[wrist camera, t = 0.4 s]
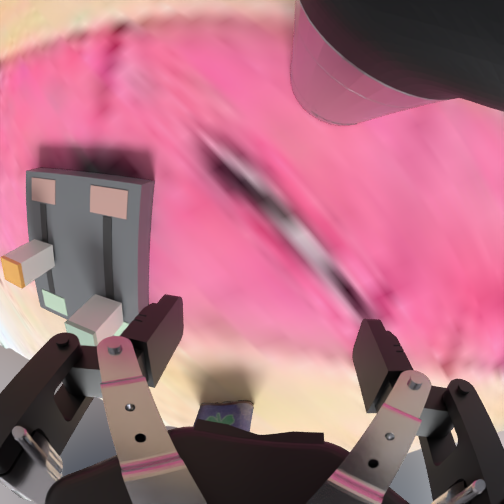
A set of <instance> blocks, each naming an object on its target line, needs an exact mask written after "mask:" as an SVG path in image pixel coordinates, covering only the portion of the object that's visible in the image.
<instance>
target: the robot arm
mask: <svg viewBox="0 0 504 504" xmlns="http://www.w3.org/2000/svg"><path fill="white" fill-rule="evenodd" d="M290 75H291V86H292V90H293V93H294V95H295V97H296V99H297V101H298V102H299V103H300V105H301V106H302V107H303V108H304V109H305V110H306V111H307V112H308V113H309V114H310V115H312V116H313V117H315V118H317V119H318V120H320V121H323V122H326V123H328V124H332V125H338V126H346V125H353V124H357V123H361V122H364V121H368V120H371V119H375V118H378V117H382V116H385V115H389V114H392V113H396V112H400V111H404V110H407V109H411V108H415V107H419V106H423V105H427V104H431V103H436V102H440V101H445V100H449V99H455V98H462V99H466V100H469V101H472V102H475V103H478V104H481V105H484V106H487V107H490V108H493V109H497V110H500V111H504V0H296V1H295V22H294V36H293V49H292V61H291V74H290ZM183 328H184V325H183V301H182V298H181V297H178V296H172V295H166V294H165V295H164V296H163V297H162V298H161V299H160V301H159V302H158V303H157V304H156V303H152V304H150V305H148V306H146V307H144V308H143V309H142V310H141V311H140V313H139V314H138V315H137V316H136V317H135V318H134V320H133V321H132V322H131V323H130V324H129V325H128V326H127V328H126V329H125V330H124V331H123V332H122V333H121V335H120V336H111V337H107V338H105V339H103V340H102V341H100V342H99V344H98V345H97V346H86V345H80V342H79V339H78V337H77V336H76V335H75V334H72V333H60V334H57V335H55V336H53V337H52V338H51V339H50V340H49V341H48V342H47V343H46V344H45V345H44V346H43V347H42V348H41V349H40V350H39V351H38V352H37V353H36V354H35V355H34V356H33V357H32V359H31V360H30V361H29V362H28V363H27V364H26V365H25V366H24V367H23V368H22V369H21V371H20V372H19V373H18V374H17V375H16V376H15V377H14V378H13V379H12V381H11V382H10V383H9V384H8V385H7V386H6V388H5V389H4V390H3V391H2V392H1V393H0V482H1V483H2V484H3V485H4V486H5V487H7V488H8V489H10V490H11V491H13V492H14V493H15V494H17V495H18V496H19V497H20V498H22V499H25V500H31V501H32V502H34V503H35V504H409V503H408V502H407V501H406V500H404V499H403V498H402V497H401V496H399V495H398V494H397V493H396V492H395V491H393V490H392V489H391V488H390V487H389V486H390V484H391V482H392V480H393V479H394V477H395V475H396V474H397V472H398V470H399V468H400V466H401V464H402V462H403V461H404V458H405V457H406V455H407V453H408V451H409V448H410V446H411V444H412V442H413V440H414V438H415V436H418V437H419V440H420V444H421V448H422V452H423V456H424V459H425V464H426V469H427V473H428V478H429V482H430V488H431V492H432V498H433V502H432V503H431V504H504V448H503V446H502V444H501V441H500V439H499V437H498V434H497V432H496V430H495V428H494V426H493V424H492V421H491V419H490V417H489V415H488V413H487V411H486V409H485V407H484V405H483V403H482V401H481V399H480V398H479V396H478V394H477V392H476V390H475V388H474V387H473V386H472V385H471V384H470V383H469V382H467V381H465V380H462V379H454V380H452V381H451V382H450V383H449V385H448V387H447V388H442V387H436V386H431V382H430V380H429V378H428V377H427V376H426V375H424V374H423V373H421V372H418V371H415V370H413V368H412V366H411V364H410V362H409V360H408V358H407V356H406V354H405V352H404V350H403V349H402V347H401V346H400V343H399V341H398V339H397V337H396V336H394V335H393V334H392V333H391V332H390V331H386V330H385V328H384V326H383V324H382V322H381V320H377V319H363V321H362V323H361V326H360V329H359V332H358V335H357V339H356V342H355V345H354V348H353V362H354V366H355V370H356V373H357V377H358V381H359V385H360V388H361V392H362V396H363V400H364V404H365V408H366V412H367V413H377V415H376V416H375V418H374V419H373V421H372V422H371V424H370V425H369V427H368V428H367V430H366V431H365V433H364V434H363V435H362V437H361V438H360V440H359V441H358V442H357V444H356V445H355V447H354V448H353V449H352V451H351V452H348V451H347V450H345V449H343V448H342V447H340V446H337V445H335V444H332V443H329V442H325V441H324V433H314V432H286V433H278V434H269V435H257V434H254V433H251V432H248V431H245V430H242V429H239V428H237V427H234V426H231V425H229V424H223V423H218V422H212V421H207V420H202V419H197V420H196V423H195V426H194V427H181V428H175V429H171V430H168V431H167V430H166V427H165V425H164V423H163V421H162V418H161V416H160V414H159V411H158V409H157V407H156V404H155V402H154V399H153V397H152V394H151V392H150V389H149V386H150V387H154V388H155V386H156V384H157V383H158V381H159V379H160V377H161V375H162V373H163V372H164V370H165V368H166V366H167V364H168V362H169V360H170V359H171V357H172V355H173V353H174V351H175V349H176V348H177V346H178V344H179V342H180V340H181V338H182V335H183ZM61 382H63V384H62V386H61V387H60V389H59V390H58V391H57V393H56V394H55V395H54V392H55V390H56V388H57V387H58V386H59V384H60V383H61ZM94 397H96V398H103V402H104V406H105V411H106V415H107V420H108V424H109V427H110V431H111V435H112V439H113V443H114V446H115V449H116V453H117V455H115V456H113V457H111V458H109V459H106V460H104V461H101V462H99V463H97V464H94V465H92V466H90V467H87V468H84V469H82V470H79V471H76V472H74V473H71V474H68V475H66V476H64V477H62V473H61V472H62V469H63V464H62V460H61V458H60V454H61V453H62V451H63V449H64V447H65V446H66V444H67V442H68V440H69V439H70V437H71V435H72V433H73V432H74V430H75V428H76V427H77V425H78V423H79V421H80V420H81V418H82V416H83V415H84V413H85V411H86V410H87V408H88V406H89V405H90V403H91V402H92V400H93V398H94ZM453 428H455V431H456V433H457V436H458V444H457V447H456V445H455V442H454V439H453V436H452V434H451V430H452V429H453Z"/></svg>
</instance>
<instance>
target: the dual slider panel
mask: <svg viewBox="0 0 504 504" xmlns="http://www.w3.org/2000/svg"><path fill="white" fill-rule="evenodd" d="M154 182H155V181H153V180H146V179H139V178H132V177H125V176H117V175H109V174H101V173H93V172H84V171H74V170H64V169H54V168H42V167H41V168H36V169H32V170H27V171H26V205H27V222H28V234H29V242H30V241H31V240H33V239H36V240H39V241H42V242H45V243H48V244H51V245H53V254H54V263H55V266H54V267H53V268H51V269H50V270H48V271H47V272H45V273H44V274H42V275H41V276H40V277H38V278H37V279H35V282H36V288H37V292H38V297H39V302H40V306H41V307H42V308H44V309H46V310H48V311H50V312H52V313H54V314H56V315H59V316H61V317H63V318H65V319H67V320H68V319H69V318H70V317H71V316H72V315H73V314H74V313H75V312H76V311H77V310H78V309H80V308H81V307H82V306H83V305H84V304H85V303H86V302H87V301H88V300H89V299H90V298H91V297H93V296H94V295H95V294H97V295H100V296H102V297H105V298H108V299H111V300H114V301H117V302H120V303H122V312H123V324H122V325H121V326H120V328H119V329H118V330H117V331H116V333H115V334H114V335H113V336H120V335H121V333H122V332H123V331H124V330H125V329H126V328H127V326H128V325H129V324H130V323H131V322H132V321H133V320H134V318H135V317H136V316H137V315H138V314H139V313H140V311H141V310H142V309H143V308H144V307H146V306H148V305H149V249H150V230H151V215H152V203H153V192H154Z"/></svg>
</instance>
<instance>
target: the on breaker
mask: <svg viewBox="0 0 504 504" xmlns="http://www.w3.org/2000/svg"><path fill="white" fill-rule="evenodd" d="M122 324H123V312H122V303H120V302H117V301H114V300H111V299H108V298H105V297H102V296H100V295H97V294H95V295H94V296H93V297H91V298H90V299H89V300H88V301H87V302H86V303H85V304H84V305H83V306H82V307H81V308H80V309H78V310H77V311H76V312H75V313H74V314H73V315H72V316H71V317H70V318H69V319H68V320H67V321H66V322H65V327H66V331H67V333H72V334H75V335H76V336H77V337H78V339H79V342H80V345H86V346H97V345H98V344H99V342H100V341H102V340H103V339H105V338H107V337H111V336H113V335H114V334H115V333H116V331H117V330H118V329H119V328H120V326H121V325H122Z"/></svg>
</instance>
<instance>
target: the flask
mask: <svg viewBox="0 0 504 504" xmlns="http://www.w3.org/2000/svg"><path fill="white" fill-rule="evenodd" d="M253 409H254V407H253V404H252V403H251V401H242V400H241V401H238V402H223V403H215V404H213V403H203V404H201V405H200V409H199V411H198V415H197V417H196V420H197V419H202V420H207V421H212V422H218V423H223V424H229V425H231V426H234V427H237V428H239V429H242V430H245V431H248V432H250V425H251V419H252V413H253ZM196 420H195V423H196ZM195 423H194V426H195ZM194 426H193V427H194Z"/></svg>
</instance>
